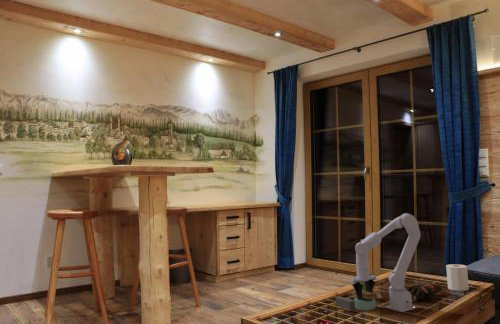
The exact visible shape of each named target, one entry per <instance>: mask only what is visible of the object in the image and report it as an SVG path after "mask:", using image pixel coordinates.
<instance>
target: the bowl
mask: <svg viewBox="0 0 500 324" xmlns="http://www.w3.org/2000/svg"><path fill="white" fill-rule="evenodd" d="M354 301H355V307H356V308H357V310H359V311H372V310H375V309H376V298H373V299H366V298H362V299H359V298H358V297H357V296H356V297H354ZM356 308H355V309H356Z"/></svg>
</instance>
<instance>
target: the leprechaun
mask: <svg viewBox="0 0 500 324" xmlns="http://www.w3.org/2000/svg"><path fill="white" fill-rule="evenodd" d="M442 288H443V287H442V285H441V284H439V283H438V284H435V283H431V282H430V283H428V284H425V285H424V284H422V283H420V284H415V285H412V286H411V287H409V288H408V290H407V291H409V292H410V293H411V296H412V303H413V302H416V301H420V300H422V299H428V300H429V301H433V300H434V299H435V297H436V296H435V295H436V294H437V293H441V292H442V291H443V289H442Z"/></svg>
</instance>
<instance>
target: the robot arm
mask: <svg viewBox="0 0 500 324" xmlns="http://www.w3.org/2000/svg"><path fill="white" fill-rule="evenodd" d="M403 227H404V229H405V231H406V233H407V235H408V236H407V239H406V241H405V243H404V246H403V248H402V251H401V253H400V256H399V259H398V261H397V264H396V266H395V267H394V268H393V271H392V272H391V273H390V274H389V275H388V282H389V285H390V286H389V287H388V295H389V305H387V306H385V308H386V309H391V310H393V311H397V312H400V313H404V312H407V311H411V310H414V307H413V302H412V296H411V293H410V292H409V291H408V290H407V289H406V287H405V285H406V280H405V279H406V276H407V271H408V268H409V267H410V264H411V262H412V261H411V260H412V259H413V257H414V253H415V252H416V249H417V246H418V243H419V241H420V238H421V231H420V227H419V221H418V220H417V218H416V217H415V215H413V214H410V213H408V212H405V213H403V214H401V215H400V216H398V217H396V218H394V219H392V220H391V221H390V222H389V223H388V224H386V225H385V226H384V227H382V228H381V229H379V230H378V231H377V232H374V231H373V232H372V233H371V232H369V233H368V235H367V236H366V237H365V238H364V239H360V241H359V242H357V243H356V245H355V247H354V250H355V257H356V258H355V266H356V267H355V268H356V276H355V277H354V278H352V279H350V280H349V281H350V282H349V283H350V284H351V285H352V287H353V288H354V289H353V290H354V291H356V294H357V296H356V297H358V298H359V299H362V288H363V285H362V284H361V283H360V282H364V283H365V286H366V291H367V292H371V293H373V290H374V287H375V284H376V281H377V275H375V274H372V275H370V268H369V267H370V264H369V257H368V253H369V251H371V250H372V249H374V248H375V247H376V246H378V245H379V244H381V243H382V238H384V237H385V236H387V235H389V234H390V233H391V232H393V231H394V230H396V229H403Z"/></svg>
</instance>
